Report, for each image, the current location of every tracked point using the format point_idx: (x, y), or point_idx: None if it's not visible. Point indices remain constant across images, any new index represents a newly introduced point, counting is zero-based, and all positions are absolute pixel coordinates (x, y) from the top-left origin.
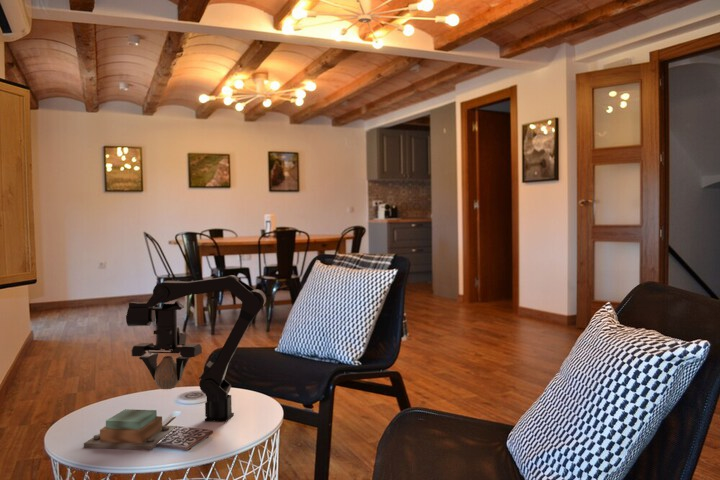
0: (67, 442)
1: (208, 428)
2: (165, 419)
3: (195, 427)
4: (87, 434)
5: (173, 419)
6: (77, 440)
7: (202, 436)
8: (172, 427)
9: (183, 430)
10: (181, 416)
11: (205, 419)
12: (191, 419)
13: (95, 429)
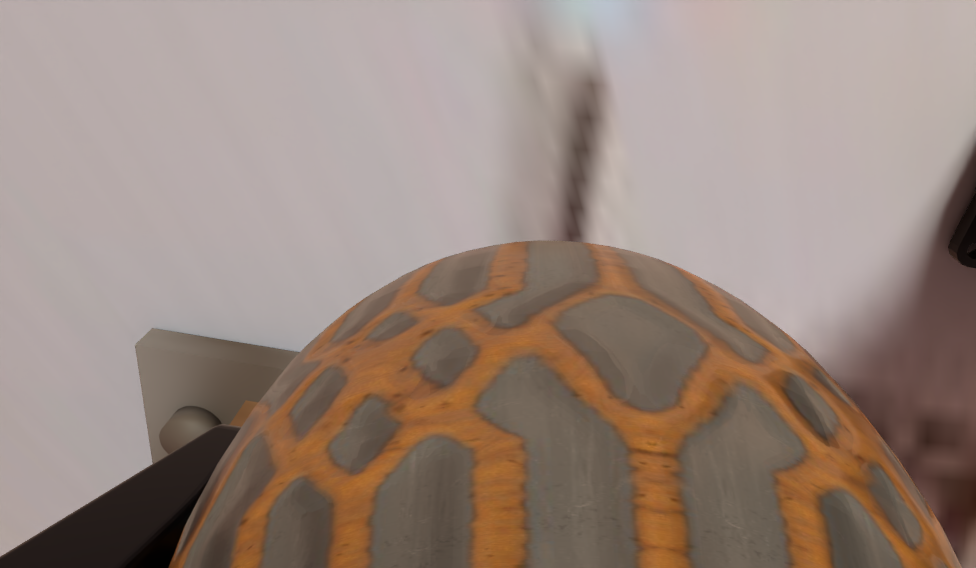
0: (34, 533)
1: (972, 414)
2: (511, 156)
3: (852, 383)
4: (48, 434)
5: (597, 162)
6: (69, 514)
7: None
8: None
9: None
10: (666, 66)
11: (966, 262)
12: (796, 175)
13: (25, 351)
